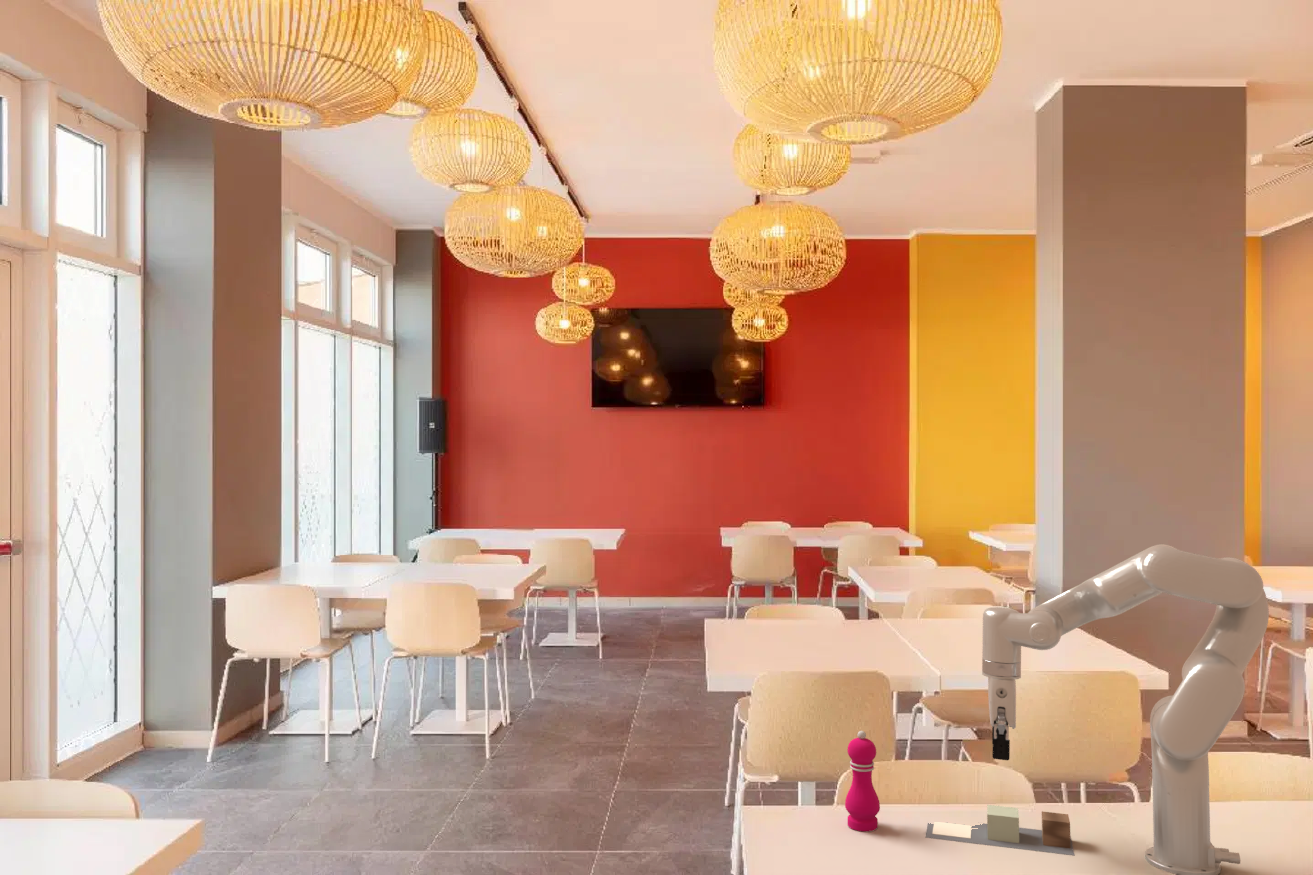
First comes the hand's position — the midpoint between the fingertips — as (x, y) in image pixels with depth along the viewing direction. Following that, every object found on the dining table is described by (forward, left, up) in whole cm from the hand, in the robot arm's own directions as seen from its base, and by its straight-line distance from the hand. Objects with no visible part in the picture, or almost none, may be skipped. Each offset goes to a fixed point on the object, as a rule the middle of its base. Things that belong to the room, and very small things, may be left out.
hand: (1000, 752), depth 194 cm
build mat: (+1, 0, -17) cm, 17 cm away
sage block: (0, 0, -17) cm, 17 cm away
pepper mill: (+28, +3, -18) cm, 33 cm away
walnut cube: (-10, 0, -17) cm, 20 cm away
